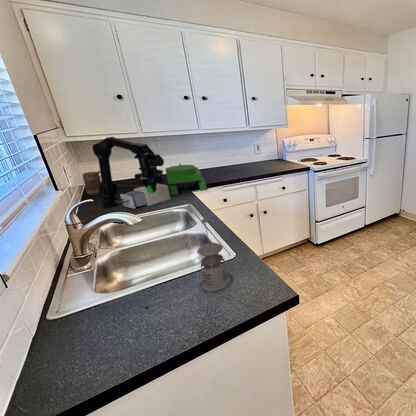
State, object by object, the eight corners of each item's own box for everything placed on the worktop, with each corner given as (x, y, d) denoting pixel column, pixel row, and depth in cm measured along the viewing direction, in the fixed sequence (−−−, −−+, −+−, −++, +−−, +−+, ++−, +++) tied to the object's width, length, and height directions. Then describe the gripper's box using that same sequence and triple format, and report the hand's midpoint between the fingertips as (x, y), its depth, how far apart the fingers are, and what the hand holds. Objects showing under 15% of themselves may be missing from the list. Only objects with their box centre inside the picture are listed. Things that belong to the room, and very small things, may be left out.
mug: (95, 195, 190) (88, 175, 185) (83, 194, 192) (76, 174, 187) (115, 189, 204) (109, 169, 199) (104, 188, 207) (97, 169, 201)
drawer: (125, 211, 159) (121, 199, 156) (115, 208, 164) (111, 196, 161) (155, 202, 174) (152, 190, 171) (145, 199, 179) (142, 188, 176)
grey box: (149, 205, 170) (145, 191, 166) (137, 202, 175) (133, 188, 172) (170, 198, 182) (167, 185, 178) (159, 196, 187) (155, 183, 184)
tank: (202, 179, 229) (198, 160, 223) (207, 189, 200) (203, 168, 194) (169, 183, 217) (165, 163, 211) (170, 195, 189) (165, 172, 183)
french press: (205, 295, 90) (191, 228, 81) (197, 278, 99) (183, 215, 89) (234, 284, 95) (224, 219, 86) (224, 268, 104) (214, 209, 95)
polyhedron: (152, 194, 161) (151, 186, 160) (145, 193, 162) (143, 186, 160) (158, 191, 166) (157, 184, 164) (151, 191, 167) (150, 183, 165)
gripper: (168, 164, 161) (174, 189, 166) (149, 161, 169) (155, 185, 174) (150, 168, 151) (156, 194, 157) (130, 165, 159) (137, 190, 165)
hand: (151, 190), depth 164 cm, fingers closed on polyhedron, 5 cm apart
